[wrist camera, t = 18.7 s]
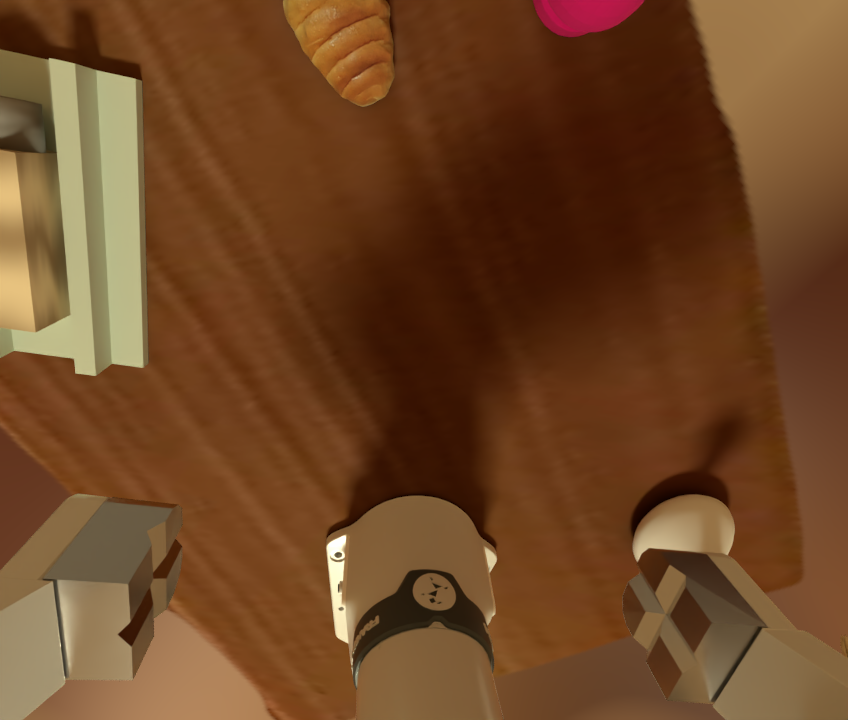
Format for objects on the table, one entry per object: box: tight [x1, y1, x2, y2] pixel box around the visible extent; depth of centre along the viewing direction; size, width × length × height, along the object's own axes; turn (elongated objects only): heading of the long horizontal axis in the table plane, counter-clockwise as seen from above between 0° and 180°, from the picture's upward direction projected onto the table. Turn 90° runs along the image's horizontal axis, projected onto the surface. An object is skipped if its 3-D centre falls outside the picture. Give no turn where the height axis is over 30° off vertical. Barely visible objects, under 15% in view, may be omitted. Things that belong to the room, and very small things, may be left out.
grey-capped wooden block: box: [0, 96, 71, 333], centre depth 33 cm, size 15×4×5 cm, turn 169°
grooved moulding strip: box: [0, 49, 148, 376], centre depth 35 cm, size 22×14×4 cm, turn 169°
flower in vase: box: [633, 494, 848, 658], centre depth 43 cm, size 13×11×25 cm
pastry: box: [283, 0, 395, 107], centre depth 32 cm, size 9×7×4 cm
